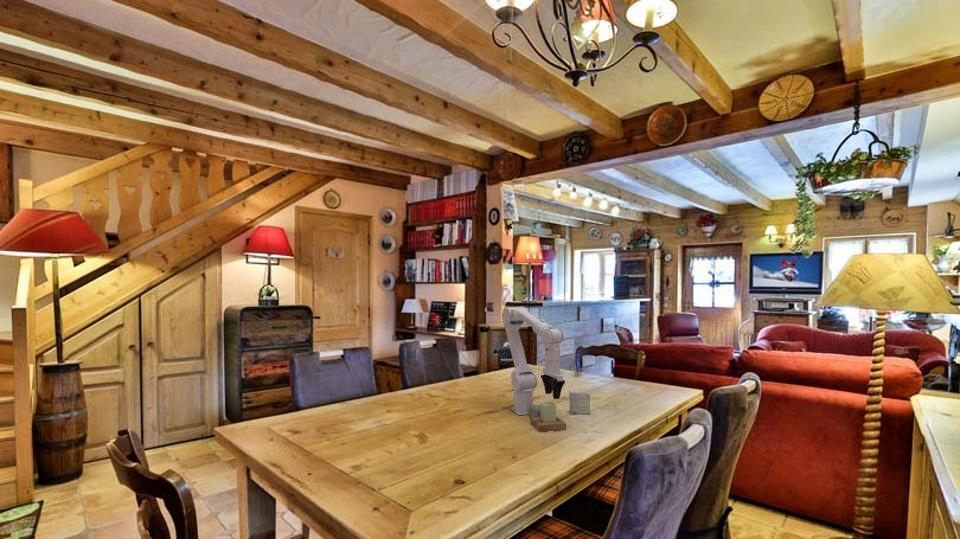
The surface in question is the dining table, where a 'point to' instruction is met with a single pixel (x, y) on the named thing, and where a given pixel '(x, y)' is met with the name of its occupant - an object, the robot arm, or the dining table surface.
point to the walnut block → (547, 425)
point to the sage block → (548, 412)
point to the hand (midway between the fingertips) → (552, 396)
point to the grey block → (535, 411)
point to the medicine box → (579, 402)
